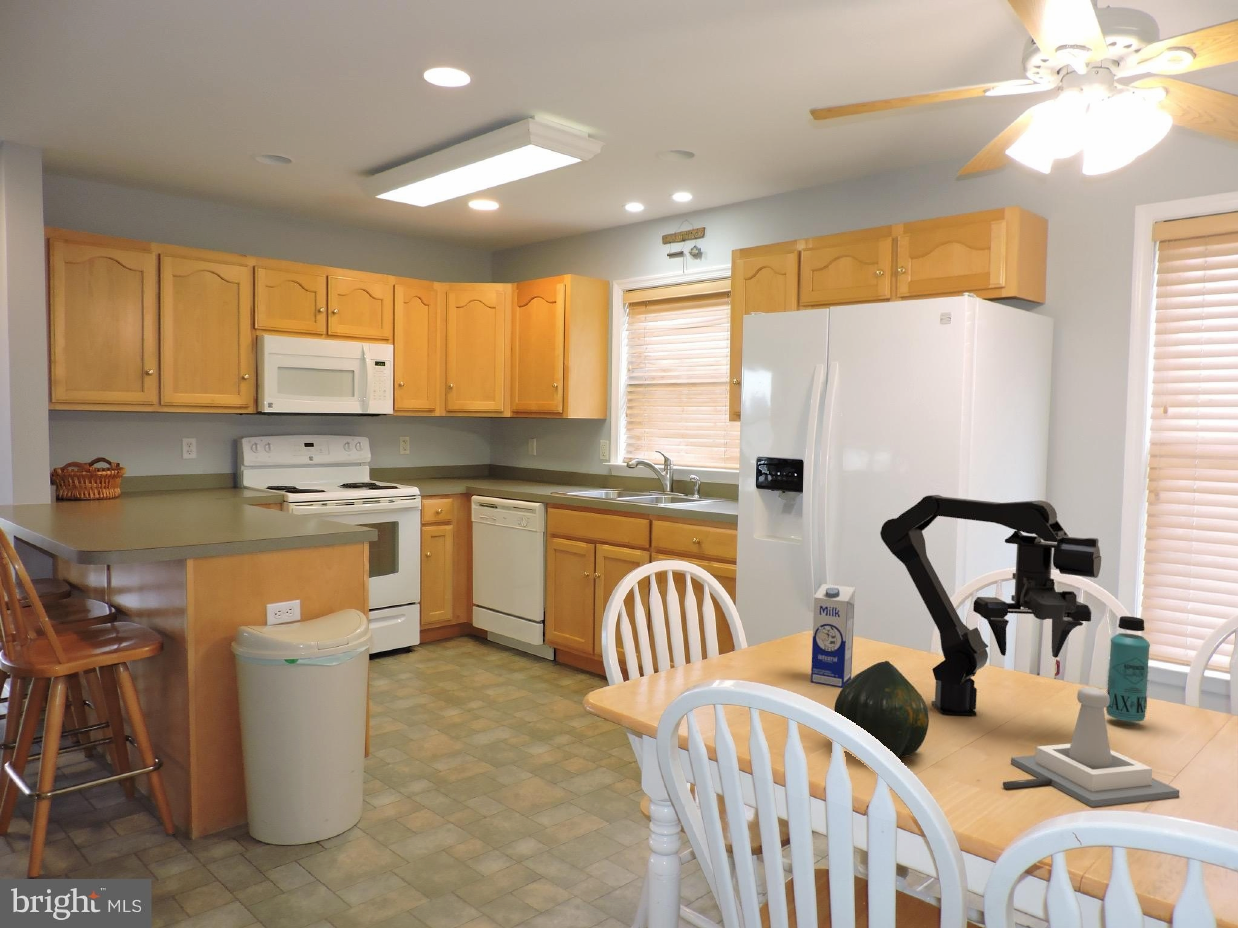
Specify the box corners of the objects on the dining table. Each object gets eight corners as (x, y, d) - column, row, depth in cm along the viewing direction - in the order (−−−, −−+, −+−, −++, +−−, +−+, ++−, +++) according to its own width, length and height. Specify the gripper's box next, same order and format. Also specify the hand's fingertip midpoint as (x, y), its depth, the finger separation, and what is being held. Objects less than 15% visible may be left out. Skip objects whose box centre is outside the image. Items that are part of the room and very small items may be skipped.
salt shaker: (1105, 783, 126) (1110, 697, 126) (1063, 772, 130) (1067, 688, 130) (1114, 772, 131) (1119, 689, 130) (1074, 761, 135) (1078, 681, 134)
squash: (862, 739, 129) (914, 661, 133) (804, 712, 143) (852, 641, 147) (915, 791, 134) (964, 713, 138) (853, 759, 147) (899, 690, 151)
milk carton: (852, 680, 179) (856, 586, 179) (843, 688, 174) (847, 591, 173) (819, 674, 183) (822, 582, 182) (809, 682, 177) (813, 587, 176)
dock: (1045, 812, 118) (1046, 787, 118) (968, 767, 134) (969, 745, 133) (1179, 796, 125) (1180, 773, 125) (1091, 755, 140) (1092, 734, 140)
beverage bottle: (1096, 717, 160) (1102, 612, 159) (1130, 717, 160) (1136, 613, 159) (1120, 730, 153) (1126, 620, 152) (1154, 730, 154) (1161, 621, 153)
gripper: (999, 576, 144) (994, 666, 145) (1110, 580, 144) (1105, 670, 144) (974, 565, 155) (970, 649, 156) (1077, 569, 155) (1072, 653, 156)
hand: (1029, 656), depth 153 cm, fingers open, 9 cm apart
